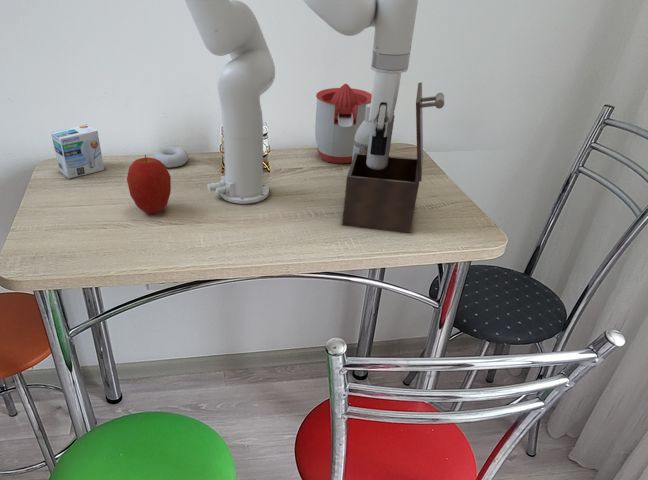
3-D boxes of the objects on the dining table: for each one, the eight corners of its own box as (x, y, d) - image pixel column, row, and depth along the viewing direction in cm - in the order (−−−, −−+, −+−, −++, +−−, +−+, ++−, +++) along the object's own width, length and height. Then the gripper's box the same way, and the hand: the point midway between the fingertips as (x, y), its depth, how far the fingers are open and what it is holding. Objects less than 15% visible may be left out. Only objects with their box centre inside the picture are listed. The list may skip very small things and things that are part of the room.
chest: (342, 225, 132) (347, 176, 124) (349, 199, 143) (354, 152, 135) (409, 233, 129) (419, 183, 121) (412, 205, 140) (421, 158, 132)
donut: (185, 154, 165) (151, 157, 163) (184, 143, 163) (149, 145, 161) (192, 167, 158) (156, 171, 155) (191, 155, 156) (155, 158, 153)
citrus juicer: (313, 169, 157) (317, 93, 144) (311, 146, 170) (315, 75, 158) (369, 170, 157) (379, 94, 144) (363, 147, 170) (371, 76, 157)
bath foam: (361, 191, 146) (371, 111, 133) (344, 182, 151) (352, 103, 138) (381, 185, 149) (392, 106, 136) (364, 176, 154) (373, 99, 141)
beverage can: (373, 160, 131) (379, 106, 123) (391, 165, 129) (399, 111, 121) (361, 166, 128) (368, 112, 121) (380, 172, 126) (387, 116, 118)
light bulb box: (69, 179, 151) (59, 138, 144) (58, 171, 155) (49, 131, 148) (105, 169, 156) (98, 130, 149) (94, 162, 160) (87, 123, 153)
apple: (182, 211, 137) (176, 154, 128) (147, 224, 131) (139, 166, 123) (158, 197, 142) (151, 142, 134) (123, 209, 137) (114, 153, 128)
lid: (415, 102, 112) (444, 99, 110) (418, 82, 122) (444, 79, 121) (417, 182, 121) (443, 179, 120) (419, 157, 132) (443, 154, 131)
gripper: (375, 50, 122) (365, 136, 133) (367, 70, 109) (357, 162, 120) (410, 52, 120) (397, 138, 132) (406, 72, 108) (393, 166, 119)
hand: (378, 149), depth 126 cm, fingers closed on beverage can, 4 cm apart
